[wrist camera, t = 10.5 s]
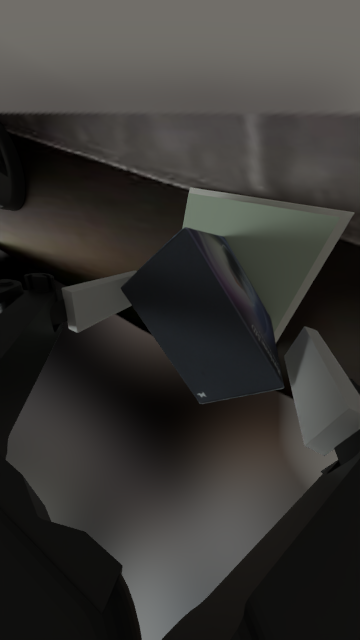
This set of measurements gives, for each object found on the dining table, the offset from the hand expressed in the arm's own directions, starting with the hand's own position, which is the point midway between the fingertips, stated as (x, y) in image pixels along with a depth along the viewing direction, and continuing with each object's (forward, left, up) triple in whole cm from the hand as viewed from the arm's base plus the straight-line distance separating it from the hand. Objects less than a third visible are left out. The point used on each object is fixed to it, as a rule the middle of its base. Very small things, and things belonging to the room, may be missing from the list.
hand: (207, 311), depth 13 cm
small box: (0, 0, -7) cm, 7 cm away
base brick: (0, 0, -13) cm, 13 cm away
